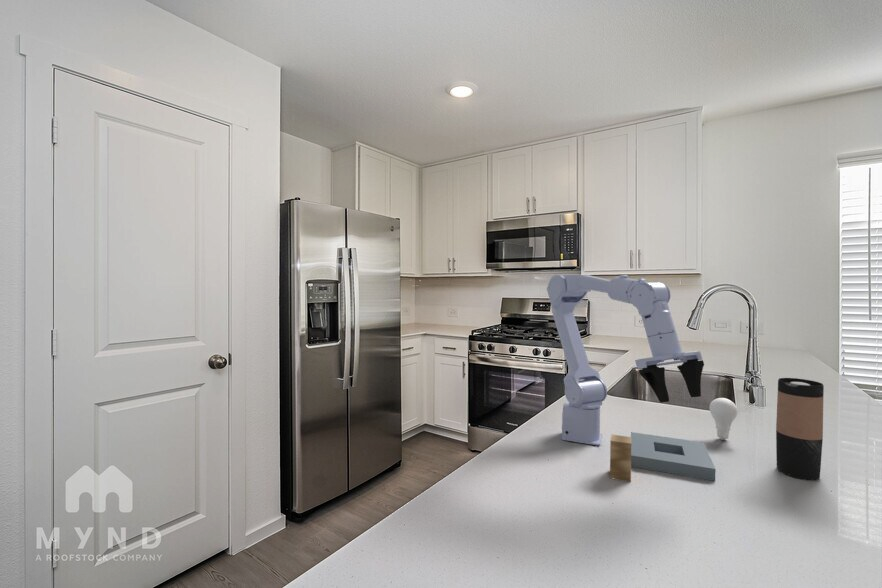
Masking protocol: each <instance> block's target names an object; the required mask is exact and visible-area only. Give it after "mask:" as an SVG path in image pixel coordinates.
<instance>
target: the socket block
mask: <svg viewBox="0 0 882 588" xmlns="http://www.w3.org/2000/svg"><path fill="white" fill-rule="evenodd" d="M630 437H631V468H632V467H633V468H637V469H638V468H640V469H644V470H650V471H656V472H661V473H667V474H674V475H679V476H686V477H692V478H696V479H702V480H709V481H714V482H716V472H717V471H716V467H715V464H714V463H713V460H712V458H711V455H710V454H709V451H708V449H707V447H706V445H705V443H704V441H697V440H690V439H683V438H675V437H667V436H662V435H655V434H654V435H653V434H648V433H639V432H633V431H632V432H630Z"/></svg>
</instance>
